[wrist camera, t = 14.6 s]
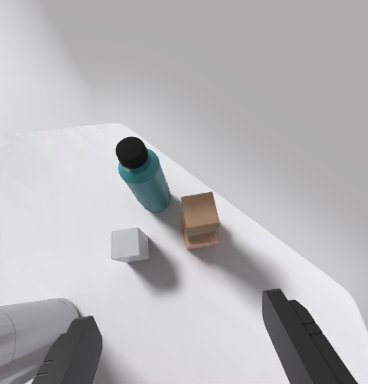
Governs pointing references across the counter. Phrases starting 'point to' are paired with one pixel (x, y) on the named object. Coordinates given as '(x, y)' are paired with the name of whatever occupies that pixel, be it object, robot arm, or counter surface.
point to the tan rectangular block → (200, 216)
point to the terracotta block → (198, 243)
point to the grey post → (129, 245)
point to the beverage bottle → (143, 174)
